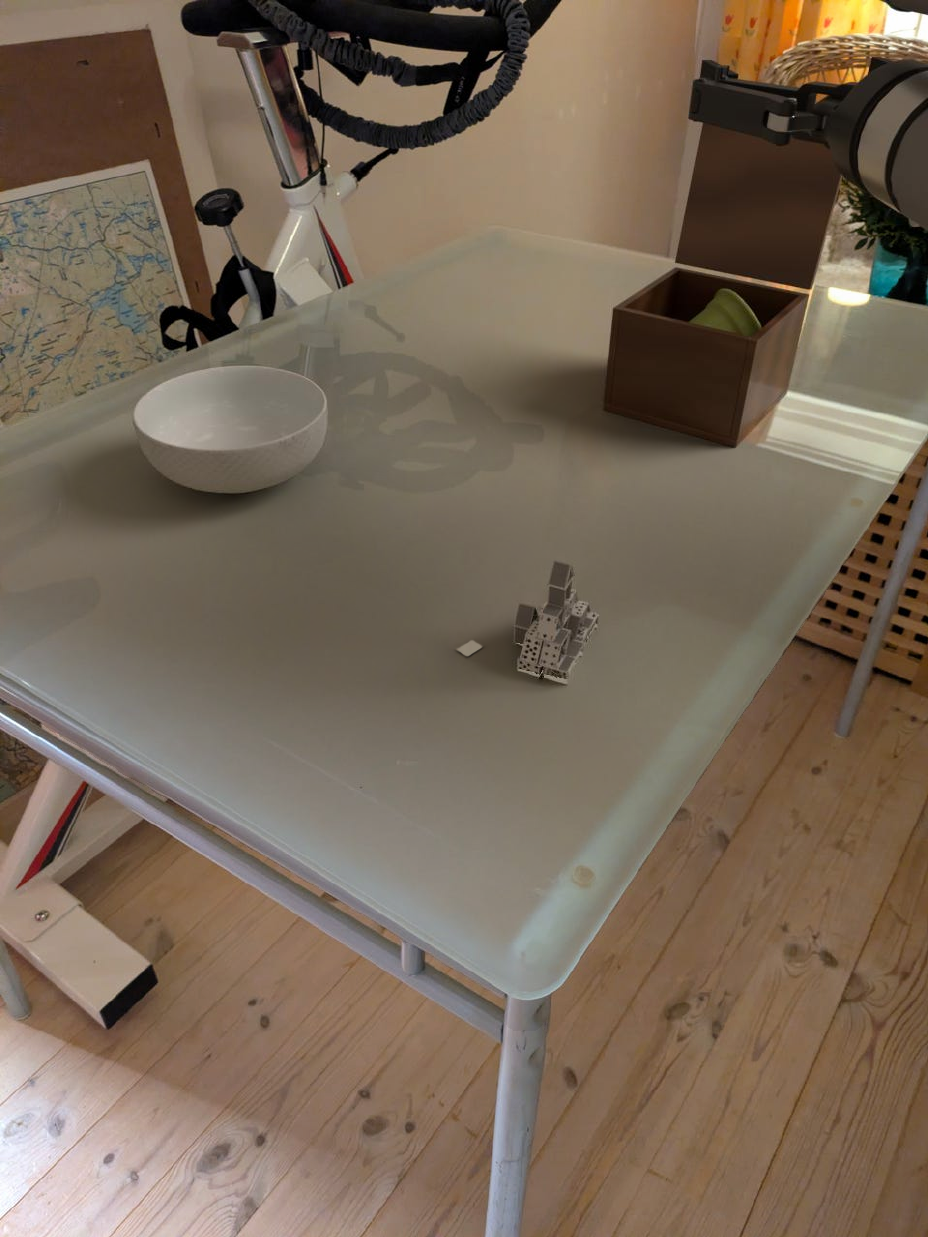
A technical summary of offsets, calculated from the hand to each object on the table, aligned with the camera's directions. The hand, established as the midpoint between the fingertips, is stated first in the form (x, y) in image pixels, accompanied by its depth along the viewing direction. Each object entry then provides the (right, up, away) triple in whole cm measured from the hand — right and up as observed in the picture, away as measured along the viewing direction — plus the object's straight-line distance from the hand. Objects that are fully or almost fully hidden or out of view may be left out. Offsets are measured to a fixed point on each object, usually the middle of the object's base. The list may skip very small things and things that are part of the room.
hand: (788, 77), depth 75 cm
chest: (-1, -20, +26) cm, 32 cm away
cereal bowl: (-46, -29, +14) cm, 56 cm away
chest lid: (+4, -1, +19) cm, 20 cm away
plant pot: (-5, -18, +23) cm, 29 cm away
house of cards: (-21, -44, -4) cm, 49 cm away
